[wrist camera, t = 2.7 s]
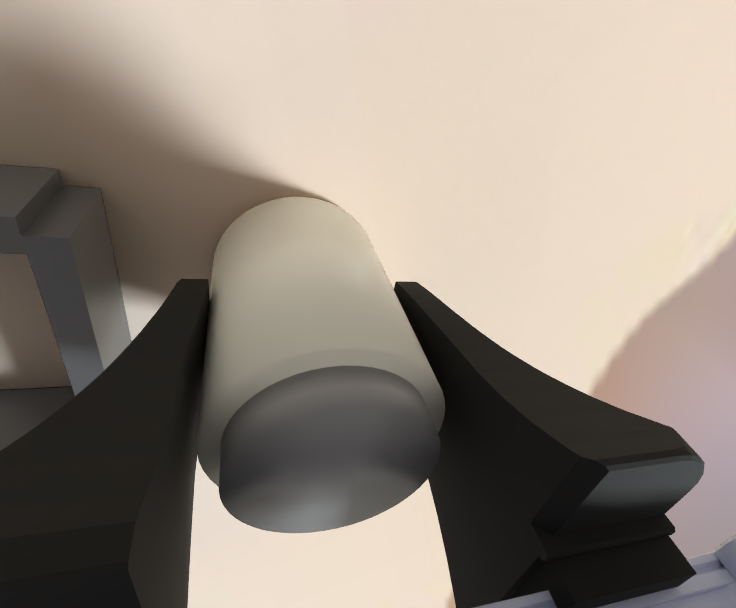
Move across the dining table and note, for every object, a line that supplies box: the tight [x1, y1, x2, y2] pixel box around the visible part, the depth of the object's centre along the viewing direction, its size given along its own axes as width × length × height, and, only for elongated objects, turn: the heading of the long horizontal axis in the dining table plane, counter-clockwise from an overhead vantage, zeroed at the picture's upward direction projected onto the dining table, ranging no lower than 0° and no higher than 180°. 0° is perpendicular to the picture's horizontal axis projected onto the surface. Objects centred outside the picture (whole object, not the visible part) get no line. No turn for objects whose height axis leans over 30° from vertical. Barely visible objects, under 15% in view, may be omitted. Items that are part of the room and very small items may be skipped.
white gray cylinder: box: [197, 197, 445, 533], centre depth 10 cm, size 5×5×7 cm
